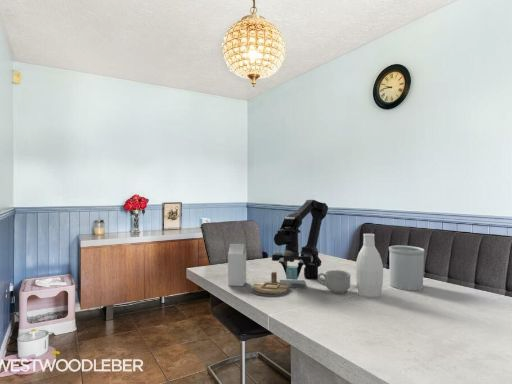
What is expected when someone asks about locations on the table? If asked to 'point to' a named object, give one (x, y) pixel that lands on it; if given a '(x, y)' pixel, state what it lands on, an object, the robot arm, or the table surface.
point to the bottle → (369, 269)
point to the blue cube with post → (292, 272)
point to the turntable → (270, 286)
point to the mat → (294, 283)
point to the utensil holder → (406, 267)
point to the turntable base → (270, 294)
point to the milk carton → (236, 265)
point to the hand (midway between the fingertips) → (292, 276)
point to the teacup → (336, 281)
